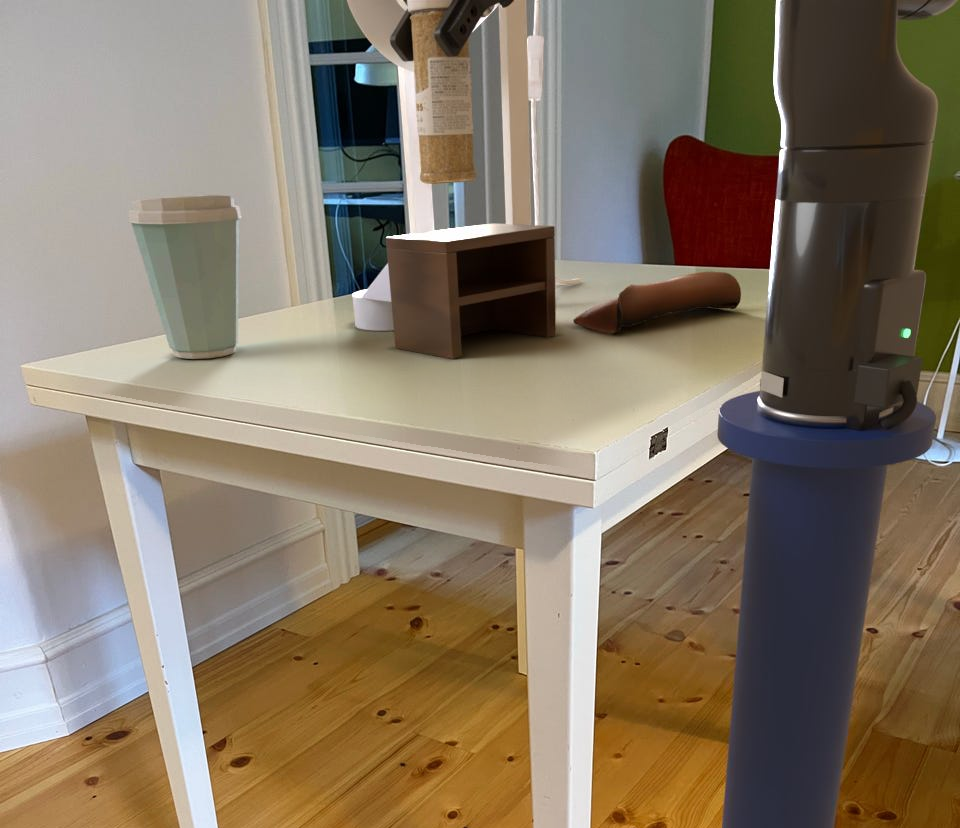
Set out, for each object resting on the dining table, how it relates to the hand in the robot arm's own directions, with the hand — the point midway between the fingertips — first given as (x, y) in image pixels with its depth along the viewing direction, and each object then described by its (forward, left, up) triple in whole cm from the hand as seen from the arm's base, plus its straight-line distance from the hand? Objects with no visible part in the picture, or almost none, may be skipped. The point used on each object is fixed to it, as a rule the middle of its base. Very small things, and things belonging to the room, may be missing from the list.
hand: (421, 49), depth 73 cm
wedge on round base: (+25, -16, -25) cm, 39 cm away
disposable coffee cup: (+30, +6, -25) cm, 40 cm away
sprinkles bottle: (0, -2, -9) cm, 9 cm away
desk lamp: (+31, -33, -25) cm, 52 cm away
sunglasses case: (+4, -34, -25) cm, 42 cm away
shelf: (+11, -14, -25) cm, 31 cm away
